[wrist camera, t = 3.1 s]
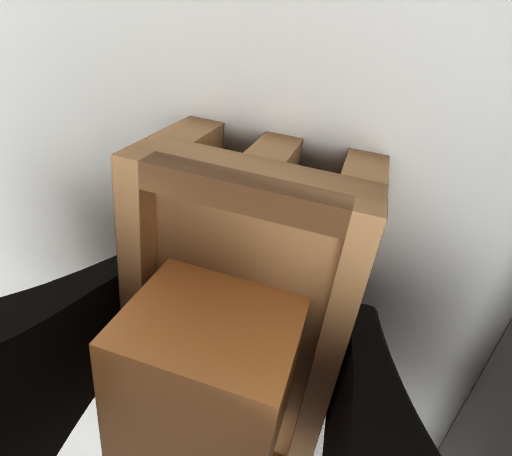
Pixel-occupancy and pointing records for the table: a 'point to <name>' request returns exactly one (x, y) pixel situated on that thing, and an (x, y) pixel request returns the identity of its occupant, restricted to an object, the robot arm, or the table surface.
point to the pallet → (257, 237)
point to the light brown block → (197, 365)
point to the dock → (486, 410)
